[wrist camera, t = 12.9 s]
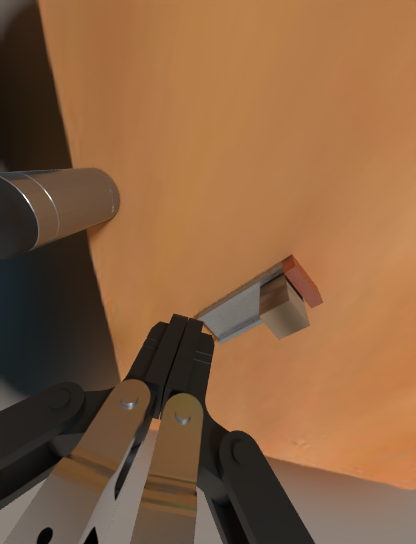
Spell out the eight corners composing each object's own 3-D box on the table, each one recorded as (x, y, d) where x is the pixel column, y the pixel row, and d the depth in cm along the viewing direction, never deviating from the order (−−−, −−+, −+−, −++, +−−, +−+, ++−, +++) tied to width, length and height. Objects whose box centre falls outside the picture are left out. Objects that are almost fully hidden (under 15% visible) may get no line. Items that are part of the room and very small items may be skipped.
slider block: (276, 306, 43) (278, 339, 35) (259, 286, 42) (258, 316, 34) (301, 292, 40) (310, 325, 32) (284, 271, 39) (289, 300, 31)
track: (221, 337, 50) (217, 354, 46) (199, 312, 49) (192, 327, 44) (316, 286, 41) (323, 302, 36) (292, 254, 39) (295, 266, 35)
